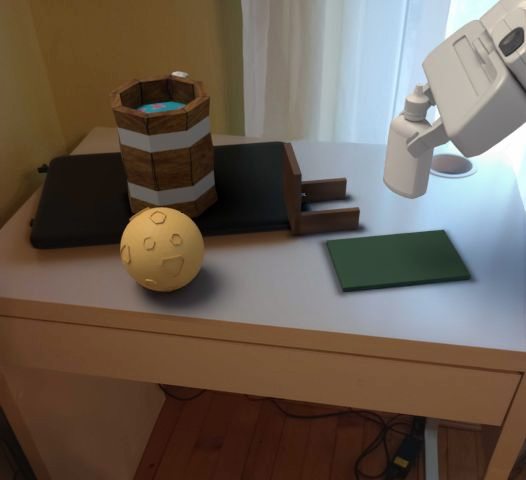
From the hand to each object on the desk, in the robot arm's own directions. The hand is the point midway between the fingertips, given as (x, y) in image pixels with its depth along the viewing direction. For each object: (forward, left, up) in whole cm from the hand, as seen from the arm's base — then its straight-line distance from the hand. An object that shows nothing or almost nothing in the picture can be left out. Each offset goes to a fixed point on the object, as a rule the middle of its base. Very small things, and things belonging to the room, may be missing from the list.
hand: (406, 137), depth 70 cm
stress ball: (+28, +1, -17) cm, 33 cm away
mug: (+26, -22, -17) cm, 38 cm away
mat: (-1, +1, -16) cm, 16 cm away
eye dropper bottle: (-1, 0, -7) cm, 7 cm away
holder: (+6, -11, -16) cm, 21 cm away
